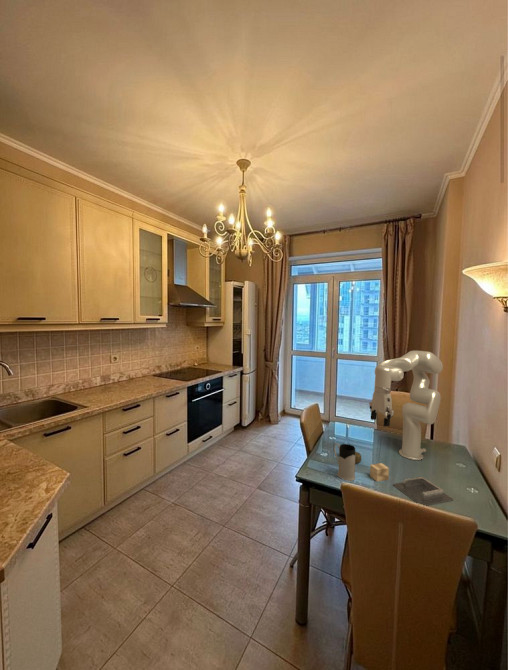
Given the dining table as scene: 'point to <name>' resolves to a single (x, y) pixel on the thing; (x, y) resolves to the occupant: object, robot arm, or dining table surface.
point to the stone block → (357, 457)
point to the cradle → (422, 491)
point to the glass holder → (346, 461)
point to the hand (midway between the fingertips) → (379, 422)
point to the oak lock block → (379, 472)
